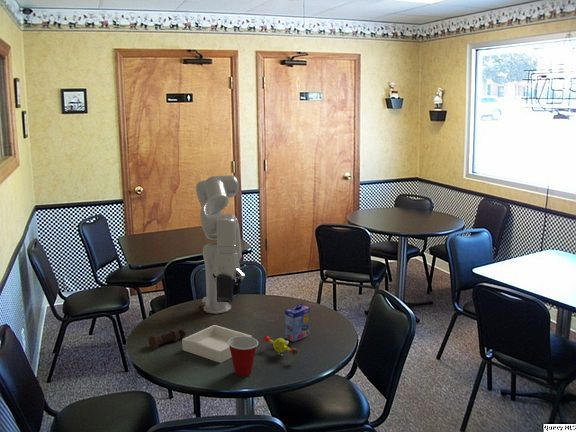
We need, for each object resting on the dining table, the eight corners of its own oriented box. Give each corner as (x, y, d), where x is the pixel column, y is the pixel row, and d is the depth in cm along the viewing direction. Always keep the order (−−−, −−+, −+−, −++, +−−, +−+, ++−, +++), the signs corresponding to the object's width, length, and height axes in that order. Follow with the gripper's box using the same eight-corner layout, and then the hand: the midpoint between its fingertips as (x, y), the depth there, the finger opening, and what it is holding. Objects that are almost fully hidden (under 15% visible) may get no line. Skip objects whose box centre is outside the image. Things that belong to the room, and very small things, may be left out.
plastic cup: (259, 379, 202) (259, 346, 200) (228, 380, 202) (227, 348, 199) (258, 365, 213) (258, 334, 211) (228, 366, 212) (227, 335, 210)
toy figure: (302, 360, 216) (302, 343, 215) (291, 365, 213) (290, 347, 211) (271, 346, 230) (270, 329, 228) (260, 350, 226) (259, 333, 225)
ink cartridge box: (294, 342, 233) (294, 307, 230) (284, 338, 237) (283, 304, 234) (310, 335, 240) (310, 301, 237) (300, 331, 244) (300, 298, 241)
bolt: (185, 342, 239) (153, 352, 229) (179, 333, 242) (147, 342, 231) (189, 332, 236) (157, 341, 226) (182, 323, 239) (150, 332, 228)
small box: (232, 303, 226) (231, 277, 224) (216, 302, 227) (215, 276, 225) (240, 294, 236) (239, 269, 234) (224, 293, 238) (223, 268, 236)
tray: (182, 350, 227) (182, 339, 226) (214, 335, 241) (214, 324, 240) (220, 363, 215) (220, 351, 214) (252, 346, 229) (251, 335, 228)
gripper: (203, 248, 230) (205, 291, 233) (237, 254, 220) (239, 298, 223) (216, 244, 236) (218, 286, 239) (250, 250, 226) (251, 293, 229)
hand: (228, 291), depth 231 cm, fingers closed on small box, 8 cm apart
